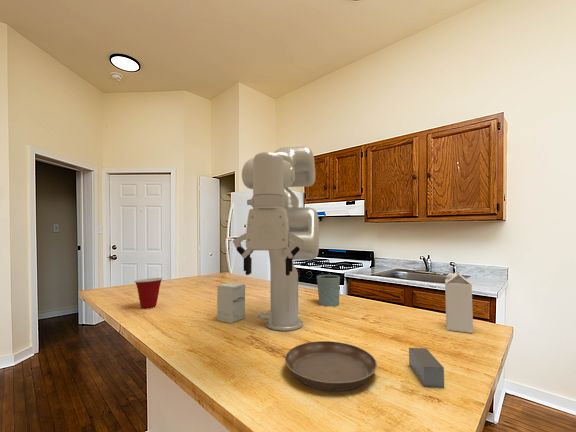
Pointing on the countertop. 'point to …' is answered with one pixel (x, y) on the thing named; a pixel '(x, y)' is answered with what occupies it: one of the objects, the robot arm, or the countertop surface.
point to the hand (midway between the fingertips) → (268, 274)
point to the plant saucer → (330, 365)
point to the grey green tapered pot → (328, 290)
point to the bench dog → (426, 367)
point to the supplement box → (230, 302)
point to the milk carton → (458, 303)
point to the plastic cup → (148, 291)
